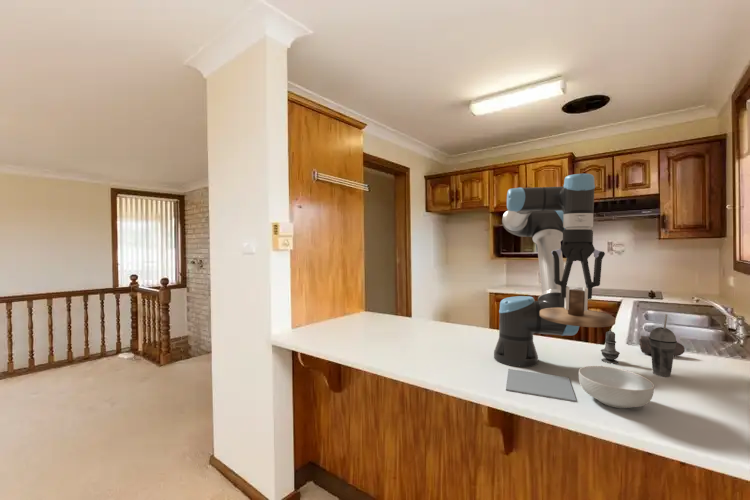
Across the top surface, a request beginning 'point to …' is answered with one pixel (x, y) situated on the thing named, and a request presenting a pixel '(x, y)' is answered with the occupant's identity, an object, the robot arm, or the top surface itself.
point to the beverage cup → (662, 350)
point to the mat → (540, 384)
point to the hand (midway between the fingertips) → (575, 309)
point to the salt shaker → (610, 348)
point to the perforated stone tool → (646, 346)
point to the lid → (577, 313)
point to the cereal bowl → (616, 386)
